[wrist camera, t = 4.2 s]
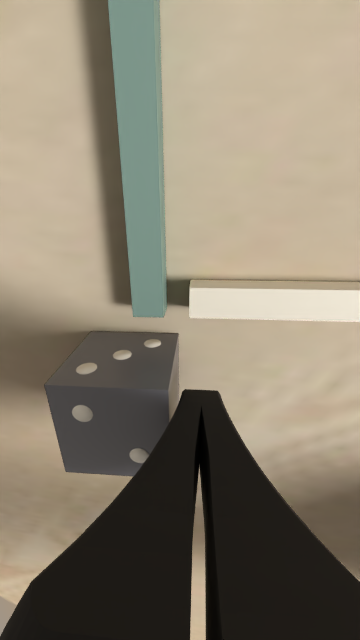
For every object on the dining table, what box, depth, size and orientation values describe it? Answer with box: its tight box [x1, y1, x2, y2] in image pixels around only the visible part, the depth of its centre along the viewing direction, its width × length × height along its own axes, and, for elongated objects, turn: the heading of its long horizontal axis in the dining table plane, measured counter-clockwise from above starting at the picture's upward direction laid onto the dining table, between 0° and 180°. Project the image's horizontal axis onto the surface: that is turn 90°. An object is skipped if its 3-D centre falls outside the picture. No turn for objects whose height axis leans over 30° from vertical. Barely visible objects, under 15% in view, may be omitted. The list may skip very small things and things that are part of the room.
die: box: [44, 331, 179, 476], centre depth 11 cm, size 4×4×4 cm
